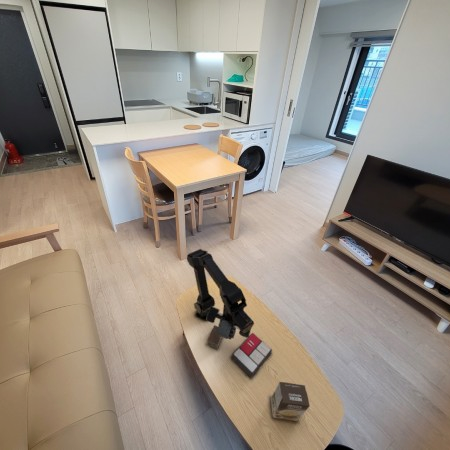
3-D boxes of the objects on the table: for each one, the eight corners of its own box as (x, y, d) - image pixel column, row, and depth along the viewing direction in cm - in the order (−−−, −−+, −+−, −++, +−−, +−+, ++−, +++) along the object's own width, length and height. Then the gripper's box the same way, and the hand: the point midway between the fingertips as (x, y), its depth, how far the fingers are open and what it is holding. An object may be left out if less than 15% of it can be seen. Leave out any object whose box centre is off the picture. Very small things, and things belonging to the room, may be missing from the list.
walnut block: (207, 344, 108) (207, 339, 105) (214, 329, 114) (214, 324, 111) (217, 349, 106) (217, 344, 104) (223, 334, 112) (224, 329, 110)
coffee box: (272, 418, 86) (281, 403, 77) (270, 398, 91) (278, 381, 82) (297, 421, 85) (310, 406, 76) (294, 400, 91) (305, 384, 81)
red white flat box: (272, 348, 103) (252, 373, 94) (270, 353, 106) (251, 378, 97) (252, 331, 110) (232, 353, 101) (251, 336, 112) (231, 358, 103)
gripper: (200, 318, 90) (200, 339, 99) (247, 338, 84) (242, 358, 93) (212, 297, 98) (210, 317, 108) (255, 313, 92) (249, 334, 101)
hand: (227, 331), depth 102 cm, fingers closed
